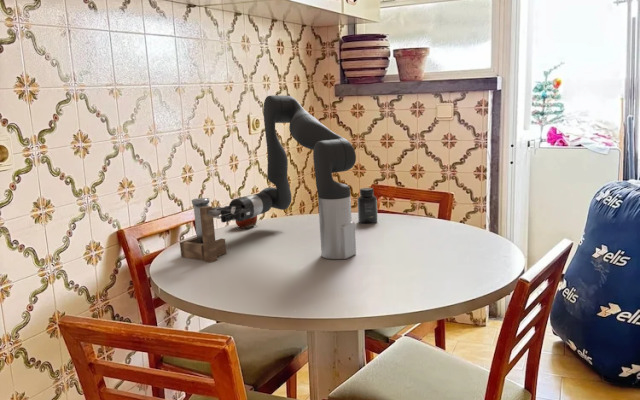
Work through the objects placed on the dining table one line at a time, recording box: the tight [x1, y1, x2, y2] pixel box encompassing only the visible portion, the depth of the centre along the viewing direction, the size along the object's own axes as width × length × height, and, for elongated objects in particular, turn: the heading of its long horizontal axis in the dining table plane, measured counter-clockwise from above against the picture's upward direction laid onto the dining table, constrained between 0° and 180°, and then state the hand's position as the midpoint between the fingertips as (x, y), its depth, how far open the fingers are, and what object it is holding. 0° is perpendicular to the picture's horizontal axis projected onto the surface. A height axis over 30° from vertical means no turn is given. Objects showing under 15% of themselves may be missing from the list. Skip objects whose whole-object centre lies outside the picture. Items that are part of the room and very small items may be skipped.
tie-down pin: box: [191, 197, 211, 244], centre depth 170 cm, size 5×5×17 cm
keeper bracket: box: [179, 206, 227, 263], centre depth 167 cm, size 16×9×16 cm, turn 56°
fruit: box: [235, 215, 258, 229], centre depth 204 cm, size 8×8×8 cm
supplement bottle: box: [357, 187, 379, 225], centre depth 200 cm, size 7×7×12 cm
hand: (211, 218), depth 172 cm, fingers open, 8 cm apart
